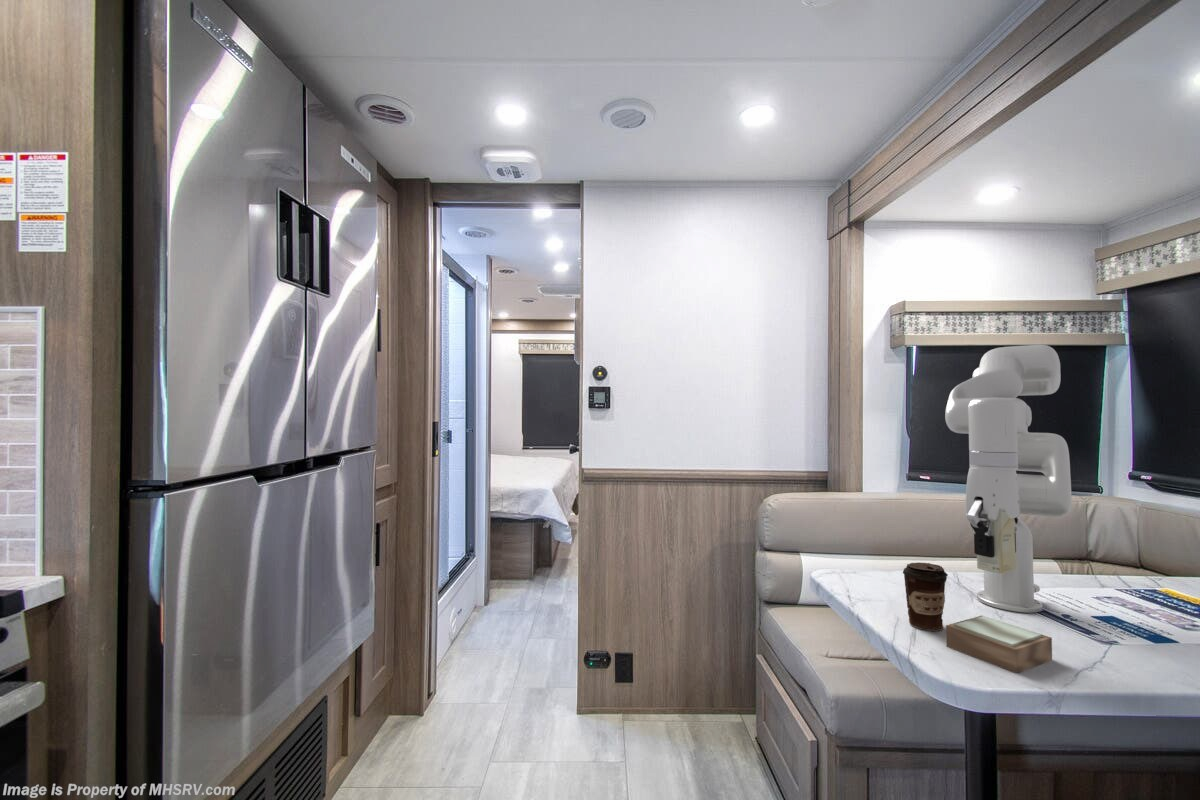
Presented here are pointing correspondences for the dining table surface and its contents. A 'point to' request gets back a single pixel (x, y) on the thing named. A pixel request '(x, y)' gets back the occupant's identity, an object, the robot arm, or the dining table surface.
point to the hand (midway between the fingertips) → (995, 552)
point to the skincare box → (1000, 546)
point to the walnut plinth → (999, 643)
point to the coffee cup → (925, 595)
